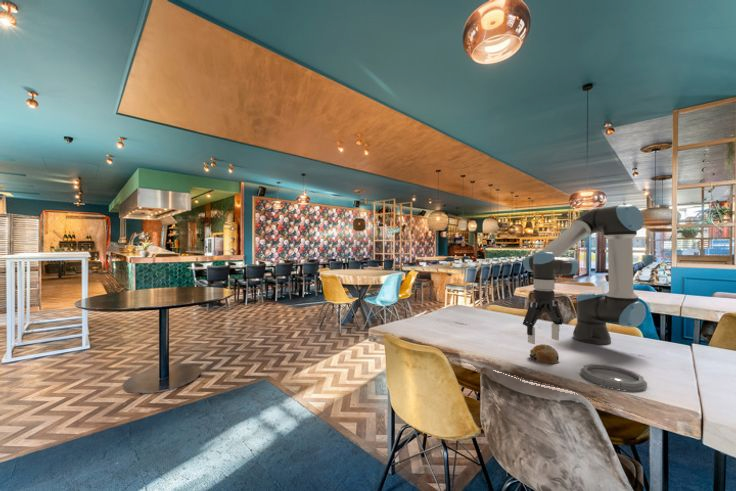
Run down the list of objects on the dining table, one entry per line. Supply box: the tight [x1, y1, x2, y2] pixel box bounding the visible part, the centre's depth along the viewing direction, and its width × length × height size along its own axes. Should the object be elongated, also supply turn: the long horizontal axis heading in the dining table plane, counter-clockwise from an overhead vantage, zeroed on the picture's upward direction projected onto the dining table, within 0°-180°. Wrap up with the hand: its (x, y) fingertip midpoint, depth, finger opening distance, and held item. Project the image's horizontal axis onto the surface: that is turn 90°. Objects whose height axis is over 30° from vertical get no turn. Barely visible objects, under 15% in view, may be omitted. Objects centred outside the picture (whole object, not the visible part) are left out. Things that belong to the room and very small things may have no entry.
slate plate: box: [580, 363, 648, 392], centre depth 105 cm, size 18×18×2 cm
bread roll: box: [529, 343, 560, 365], centre depth 124 cm, size 10×10×8 cm
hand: (543, 341), depth 124 cm, fingers open, 13 cm apart
